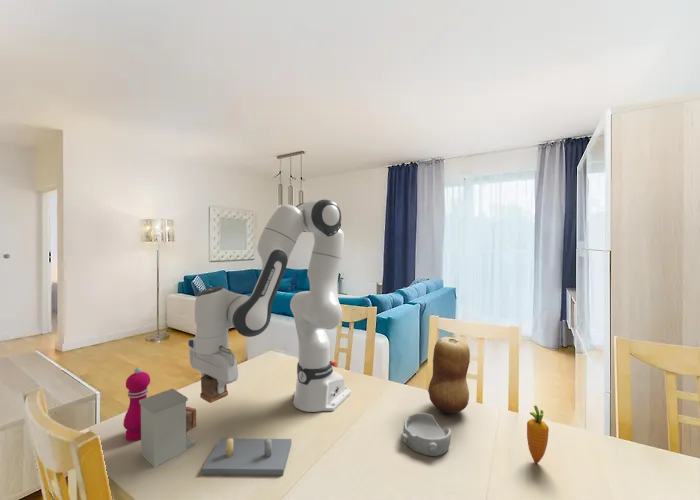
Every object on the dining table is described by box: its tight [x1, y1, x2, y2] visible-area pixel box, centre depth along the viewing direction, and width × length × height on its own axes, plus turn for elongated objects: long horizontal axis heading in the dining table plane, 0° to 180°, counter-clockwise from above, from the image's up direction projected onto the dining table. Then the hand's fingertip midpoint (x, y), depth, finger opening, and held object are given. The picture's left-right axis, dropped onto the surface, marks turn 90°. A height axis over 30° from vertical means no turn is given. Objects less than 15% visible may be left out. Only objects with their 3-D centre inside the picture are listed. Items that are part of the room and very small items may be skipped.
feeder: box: [139, 388, 196, 468], centre depth 88 cm, size 11×9×15 cm
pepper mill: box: [123, 367, 151, 442], centre depth 94 cm, size 7×7×20 cm
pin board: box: [201, 437, 292, 476], centre depth 86 cm, size 12×20×6 cm, turn 91°
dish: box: [401, 412, 452, 457], centre depth 94 cm, size 14×14×5 cm
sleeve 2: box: [199, 375, 229, 404], centre depth 95 cm, size 6×6×6 cm
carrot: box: [526, 404, 550, 464], centre depth 86 cm, size 5×5×15 cm
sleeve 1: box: [186, 406, 197, 433], centre depth 98 cm, size 6×6×5 cm
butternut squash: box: [427, 336, 471, 414], centre depth 111 cm, size 14×13×25 cm
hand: (214, 389), depth 95 cm, fingers closed on sleeve 2, 5 cm apart
